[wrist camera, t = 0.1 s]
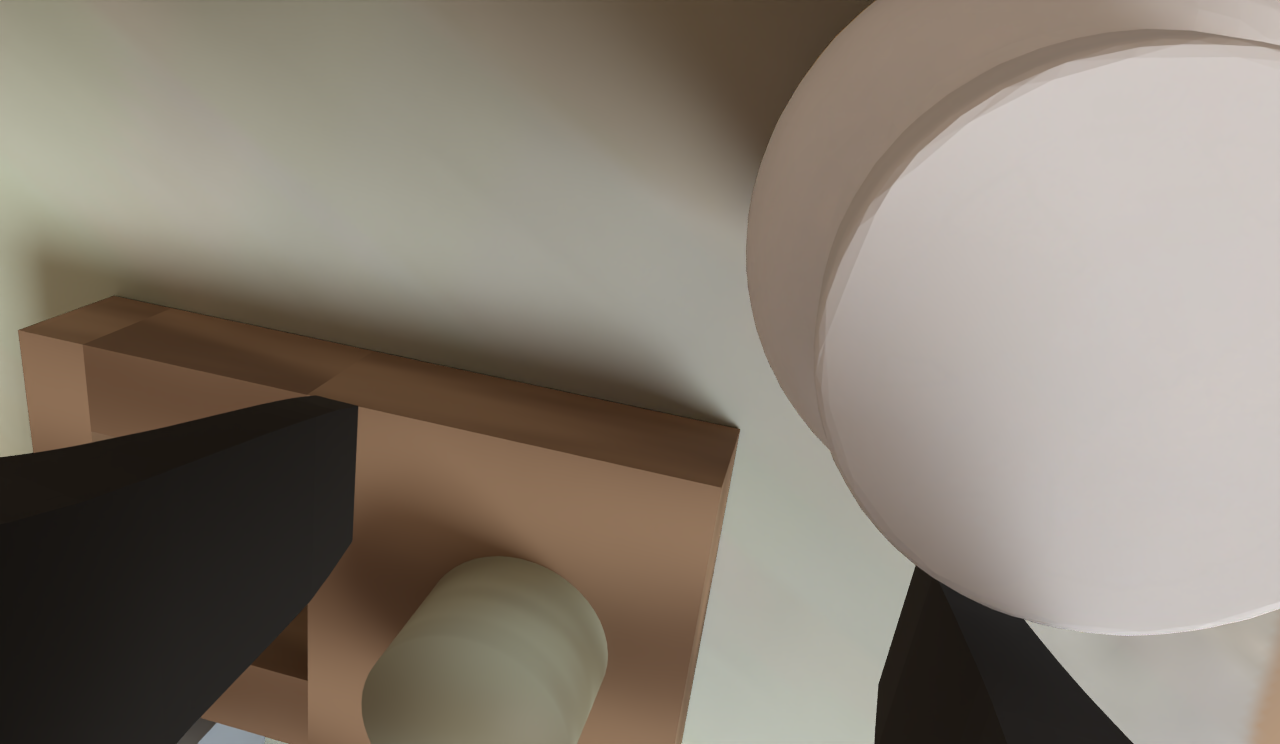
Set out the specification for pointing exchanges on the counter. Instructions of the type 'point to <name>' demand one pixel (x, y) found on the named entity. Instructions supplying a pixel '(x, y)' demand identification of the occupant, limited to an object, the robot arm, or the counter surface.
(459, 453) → the base
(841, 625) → the counter surface
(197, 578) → the robot arm
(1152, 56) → the supplement bottle
